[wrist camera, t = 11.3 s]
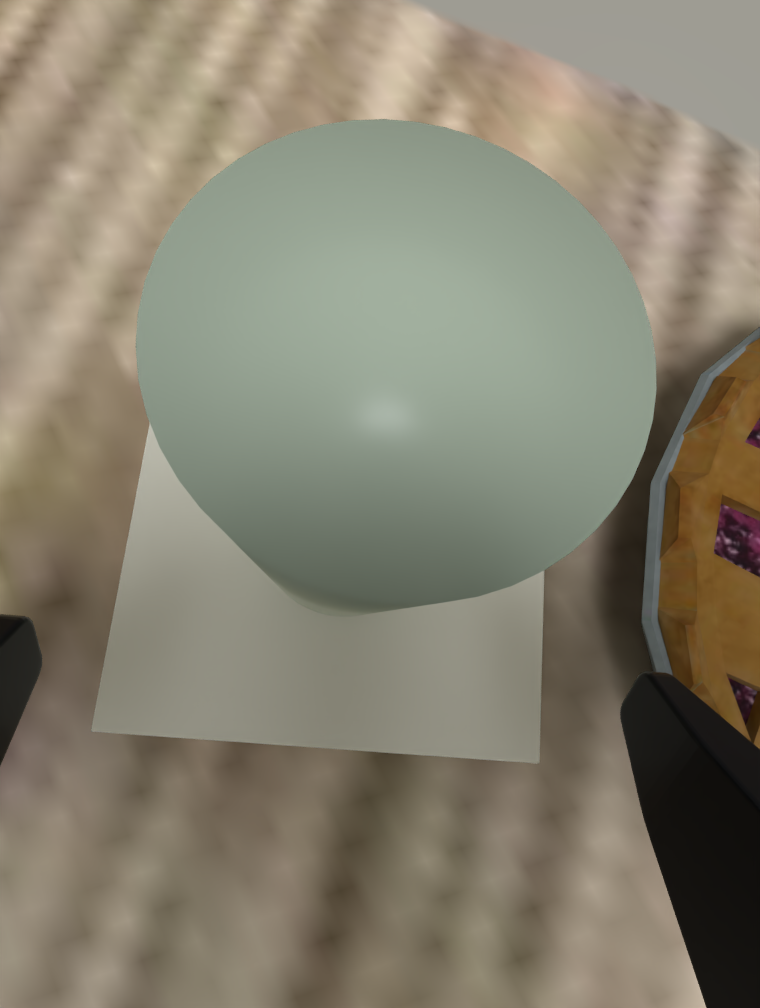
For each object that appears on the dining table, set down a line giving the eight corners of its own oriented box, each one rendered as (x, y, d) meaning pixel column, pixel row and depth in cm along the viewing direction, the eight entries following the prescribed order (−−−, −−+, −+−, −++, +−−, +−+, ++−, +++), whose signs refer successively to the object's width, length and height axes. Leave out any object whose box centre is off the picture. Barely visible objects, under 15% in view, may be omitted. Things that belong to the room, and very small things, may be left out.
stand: (504, 740, 18) (539, 763, 15) (129, 712, 17) (90, 731, 14) (516, 401, 21) (549, 366, 18) (192, 359, 20) (170, 313, 17)
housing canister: (372, 651, 15) (508, 718, 5) (222, 554, 15) (12, 399, 5) (460, 504, 16) (730, 288, 6) (320, 415, 17) (332, 39, 6)
